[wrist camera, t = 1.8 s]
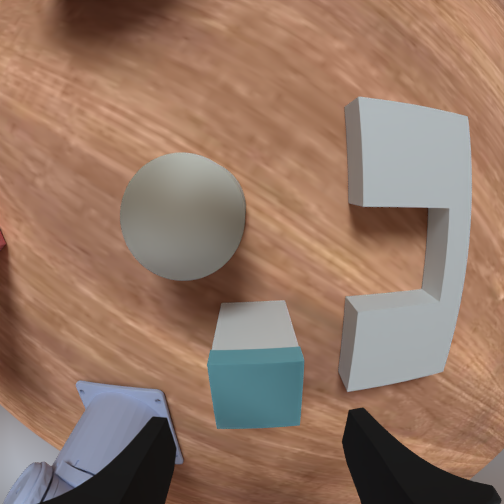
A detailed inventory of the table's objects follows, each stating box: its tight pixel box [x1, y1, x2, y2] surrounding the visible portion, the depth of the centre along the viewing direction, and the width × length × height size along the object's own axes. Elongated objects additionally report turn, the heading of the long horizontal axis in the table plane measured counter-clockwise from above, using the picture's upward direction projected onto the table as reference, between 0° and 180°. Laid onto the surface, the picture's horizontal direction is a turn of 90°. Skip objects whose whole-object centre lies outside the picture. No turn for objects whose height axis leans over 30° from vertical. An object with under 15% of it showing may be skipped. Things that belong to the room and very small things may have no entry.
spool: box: [120, 153, 246, 281], centre depth 15 cm, size 6×6×5 cm
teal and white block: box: [207, 300, 304, 429], centre depth 16 cm, size 4×4×7 cm
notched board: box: [338, 97, 472, 392], centre depth 17 cm, size 18×8×2 cm, turn 2°
